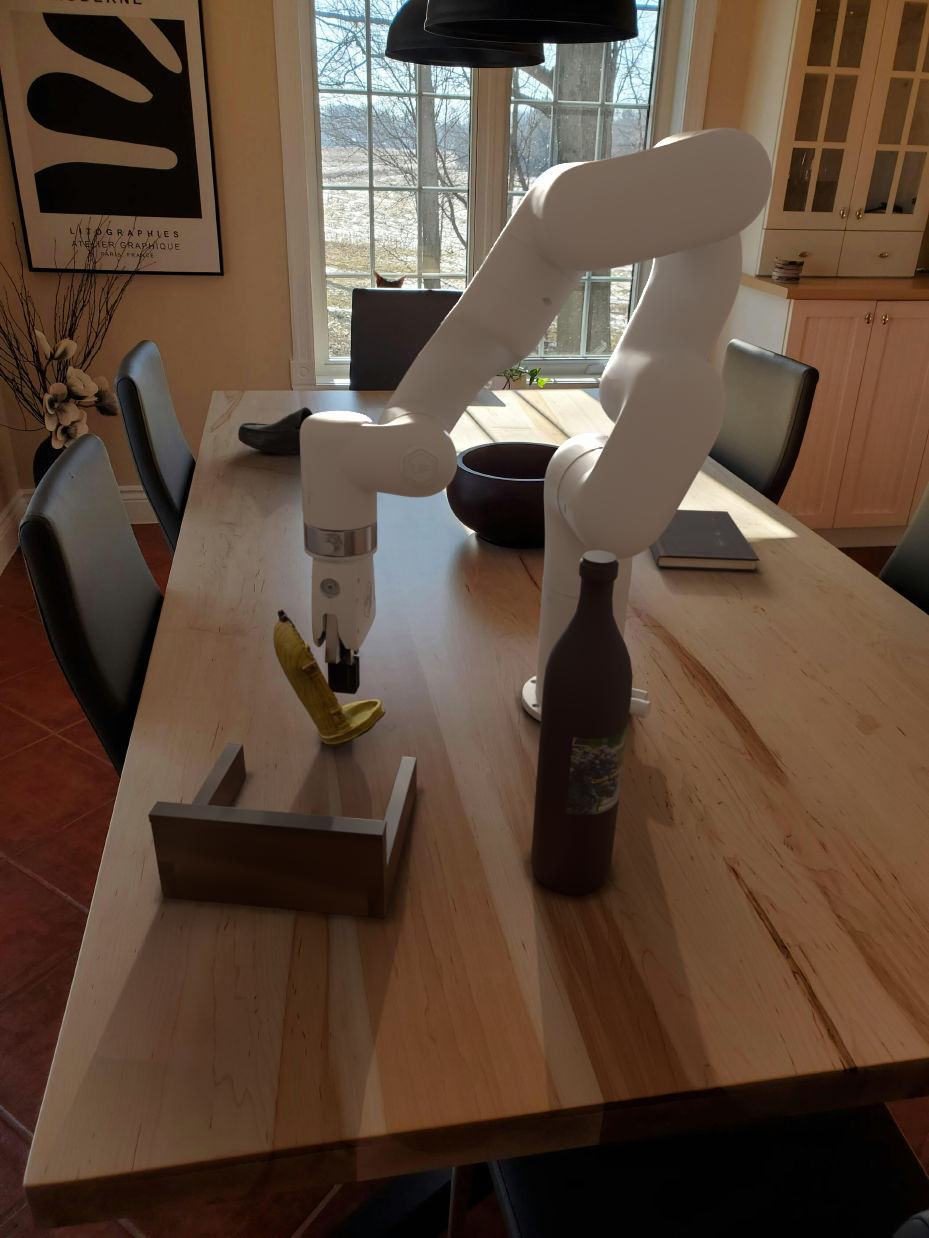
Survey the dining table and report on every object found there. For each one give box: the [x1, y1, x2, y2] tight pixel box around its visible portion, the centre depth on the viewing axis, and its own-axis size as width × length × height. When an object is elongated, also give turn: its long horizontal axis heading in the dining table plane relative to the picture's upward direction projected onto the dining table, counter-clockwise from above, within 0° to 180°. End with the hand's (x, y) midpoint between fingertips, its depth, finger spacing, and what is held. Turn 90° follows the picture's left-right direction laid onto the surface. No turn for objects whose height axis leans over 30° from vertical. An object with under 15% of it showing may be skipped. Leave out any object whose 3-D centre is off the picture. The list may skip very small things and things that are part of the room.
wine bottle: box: [530, 550, 634, 896], centre depth 73 cm, size 7×7×30 cm
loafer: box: [237, 406, 314, 456], centre depth 197 cm, size 10×29×10 cm, turn 82°
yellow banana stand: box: [272, 608, 386, 747], centre depth 95 cm, size 12×8×15 cm
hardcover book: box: [649, 509, 761, 573], centre depth 153 cm, size 16×23×2 cm
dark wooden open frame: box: [147, 742, 418, 919], centre depth 81 cm, size 18×19×9 cm
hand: (344, 689), depth 100 cm, fingers closed
